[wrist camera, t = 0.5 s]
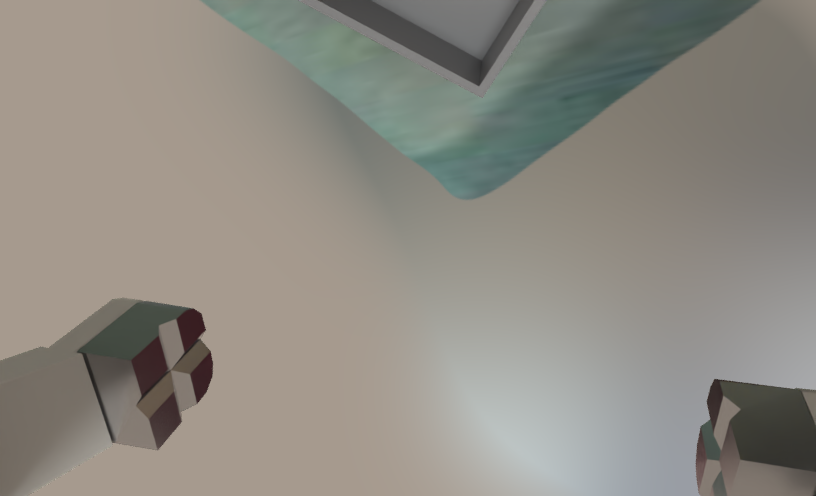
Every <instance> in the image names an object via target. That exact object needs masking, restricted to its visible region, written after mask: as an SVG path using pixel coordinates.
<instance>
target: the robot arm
mask: <svg viewBox="0 0 816 496" xmlns="http://www.w3.org/2000/svg"><path fill="white" fill-rule="evenodd" d="M205 331H206V329H205V325H204V321H203V317H202V314H201V313H200V312H198V311H197V310H195V309H193V308H187V307H181V306H175V305H169V304H162V303H156V302H149V301H142V300H135V299H128V298H118V299H112V300H111V301H110V302H109V303H107V304H106V305H105V306H103V307H102V308H100V309H99V310H98V311H96V312H95V313H94V314H92V315H91V316H90V317H88V318H87V319H86V320H84V321H83V322H82V323H81V324H79V325H78V326H77V327H75V328H74V329H73V330H71V331H70V332H69V333H67V334H66V335H65V336H63V337H62V338H61V339H59V340H58V341H57V342H55V343H54V344H53V345H51V346H50V347H49V348H44V347H39V348H36V349H33V350H30V351H27V352H24V353H21V354H19V355H15V356H13V357H10V358H7V359H4V360H1V361H0V496H29V495H30V494H32V493H34V492H35V491H37V490H39V489H40V488H42V487H43V486H45V485H47V484H49V483H50V482H52V481H54V480H55V479H57V478H59V477H60V476H62V475H64V474H65V473H67V472H69V471H71V470H72V469H74V468H76V467H77V466H79V465H80V464H82V463H84V462H86V461H87V460H89V459H91V458H92V457H94V456H96V455H97V454H99V453H101V452H102V451H104V450H105V449H107V448H109V447H111V446H112V445H113V443H118V444H123V445H130V446H135V447H141V448H147V449H153V450H158V449H159V448H160V447H161V446H162V445H163V444H164V442H165V441H166V440H167V439H168V438H169V436H170V435H171V434H172V433H173V432H174V431H175V430H176V428H177V427H178V426H179V425H180V424H181V422H182V413H181V412H182V411H184V410H186V409H188V408H190V407H192V406H194V405H196V404H197V403H198V402H199V401H200V400H201V398H202V397H203V396H204V395H205V393H206V392H207V390H208V387H209V384H210V381H211V379H212V374H213V361H212V356H211V351H210V350H209V349H208V348H207V347H206V345H205V344H204V343H203V342H202V341H201V337H202V336H203V334H204V332H205ZM707 405H708V410H709V415H710V420H709V421H708V422H706V423H705V424H703V425H702V426H701V428H700V433H699V438H698V443H697V453H696V477H697V485H698V491H699V494H700V495H701V496H816V390H810V389H800V388H795V389H790V388H781V387H774V386H767V385H759V384H751V383H743V382H735V381H727V380H719V379H714V381H713V383H712V385H711V387H710V391H709V395H708V399H707Z"/></svg>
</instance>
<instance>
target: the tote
mask: <svg viewBox="0 0 816 496" xmlns="http://www.w3.org/2000/svg"><path fill="white" fill-rule="evenodd" d="M298 1H300V2H302V3H304V4H306V5H308V6H310V7H312V8H313V9H315V10H317V11H319V12H321V13H323V14H325V15H327V16H328V17H330V18H332V19H334V20H336V21H338V22H340V23H342V24H344V25H345V26H347V27H349V28H351V29H353V30H355V31H357V32H359V33H361V34H362V35H364V36H366V37H368V38H370V39H372V40H374V41H376V42H377V43H379V44H381V45H383V46H385V47H387V48H389V49H391V50H393V51H394V52H396V53H398V54H400V55H402V56H404V57H406V58H408V59H410V60H411V61H413V62H415V63H417V64H419V65H421V66H423V67H425V68H426V69H428V70H430V71H432V72H434V73H436V74H438V75H440V76H442V77H443V78H445V79H447V80H449V81H451V82H453V83H455V84H457V85H459V86H460V87H462V88H464V89H466V90H468V91H470V92H472V93H474V94H475V95H477V96H479V97H481V98H483V97H484V95H485V94H486V92H487V90H488V89H489V87H490V86H491V84H492V83H493V81H494V80H495V78H496V77H497V75H498V74H499V72H500V71H501V69H502V68H503V66H504V65H505V63H506V62H507V60H508V58H509V57H510V55H511V54H512V52H513V51H514V49H515V48H516V46H517V45H518V43H519V42H520V40H521V39H522V37H523V36H524V34H525V33H526V31H527V29H528V28H529V26H530V25H531V23H532V22H533V20H534V19H535V17H536V16H537V14H538V13H539V11H540V10H541V8H542V7H543V5H544V4H545V2H546V1H547V0H298Z"/></svg>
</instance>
